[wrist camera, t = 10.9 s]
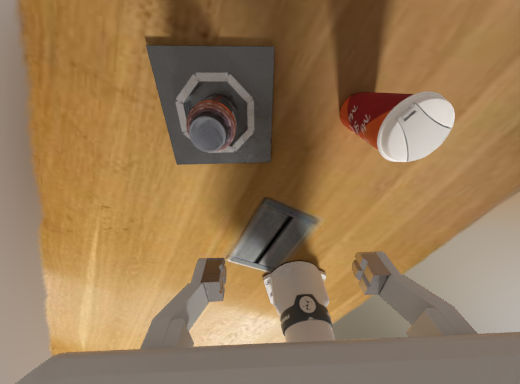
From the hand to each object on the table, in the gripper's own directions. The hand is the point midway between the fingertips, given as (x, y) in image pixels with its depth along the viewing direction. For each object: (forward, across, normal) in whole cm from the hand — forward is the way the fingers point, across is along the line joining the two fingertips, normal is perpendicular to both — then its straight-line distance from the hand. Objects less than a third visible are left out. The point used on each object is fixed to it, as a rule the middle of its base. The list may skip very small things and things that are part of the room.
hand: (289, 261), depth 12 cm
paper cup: (+26, -15, -5) cm, 31 cm away
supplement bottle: (+24, +8, -5) cm, 26 cm away
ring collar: (+25, +8, -5) cm, 27 cm away
